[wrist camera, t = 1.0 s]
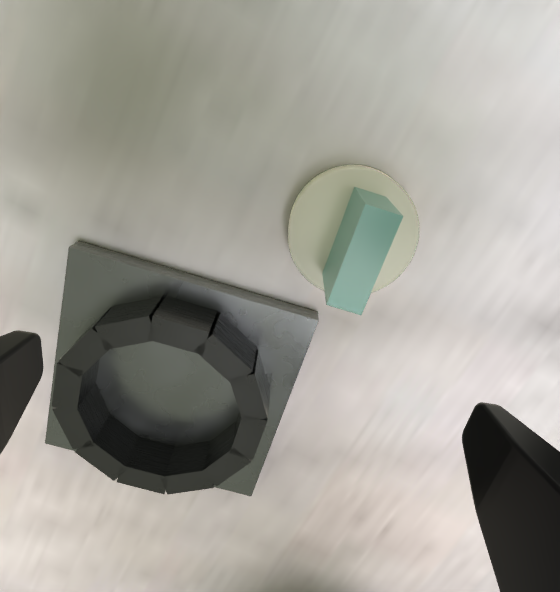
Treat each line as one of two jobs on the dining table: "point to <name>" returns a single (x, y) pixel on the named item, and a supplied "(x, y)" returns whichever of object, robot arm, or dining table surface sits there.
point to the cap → (352, 233)
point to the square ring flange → (170, 373)
